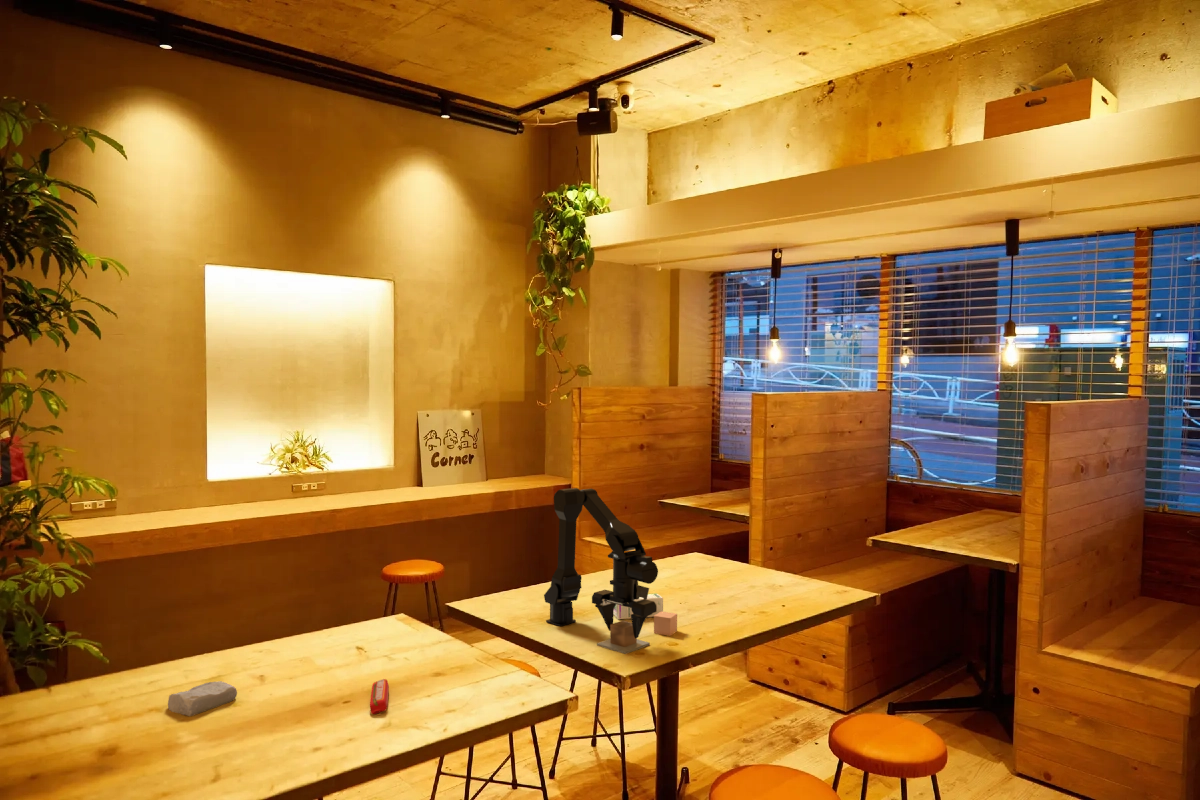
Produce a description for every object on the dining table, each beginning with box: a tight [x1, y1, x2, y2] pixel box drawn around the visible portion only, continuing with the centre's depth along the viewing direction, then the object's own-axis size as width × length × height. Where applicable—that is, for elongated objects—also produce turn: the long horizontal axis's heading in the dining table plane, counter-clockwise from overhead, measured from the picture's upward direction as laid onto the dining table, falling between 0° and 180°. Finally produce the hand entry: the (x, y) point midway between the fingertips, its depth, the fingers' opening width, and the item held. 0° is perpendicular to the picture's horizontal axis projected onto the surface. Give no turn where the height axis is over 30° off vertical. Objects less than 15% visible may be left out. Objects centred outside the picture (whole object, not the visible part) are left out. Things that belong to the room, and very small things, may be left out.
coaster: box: [596, 638, 650, 655], centre depth 220 cm, size 10×10×1 cm
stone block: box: [167, 681, 238, 717], centre depth 179 cm, size 12×5×10 cm
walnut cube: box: [609, 620, 638, 647], centre depth 220 cm, size 5×5×5 cm
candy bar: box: [369, 678, 390, 715], centre depth 181 cm, size 16×4×3 cm, turn 13°
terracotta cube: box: [653, 611, 678, 636], centre depth 231 cm, size 5×5×5 cm
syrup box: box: [613, 592, 664, 620], centre depth 247 cm, size 6×6×14 cm
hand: (623, 634), depth 220 cm, fingers open, 9 cm apart
